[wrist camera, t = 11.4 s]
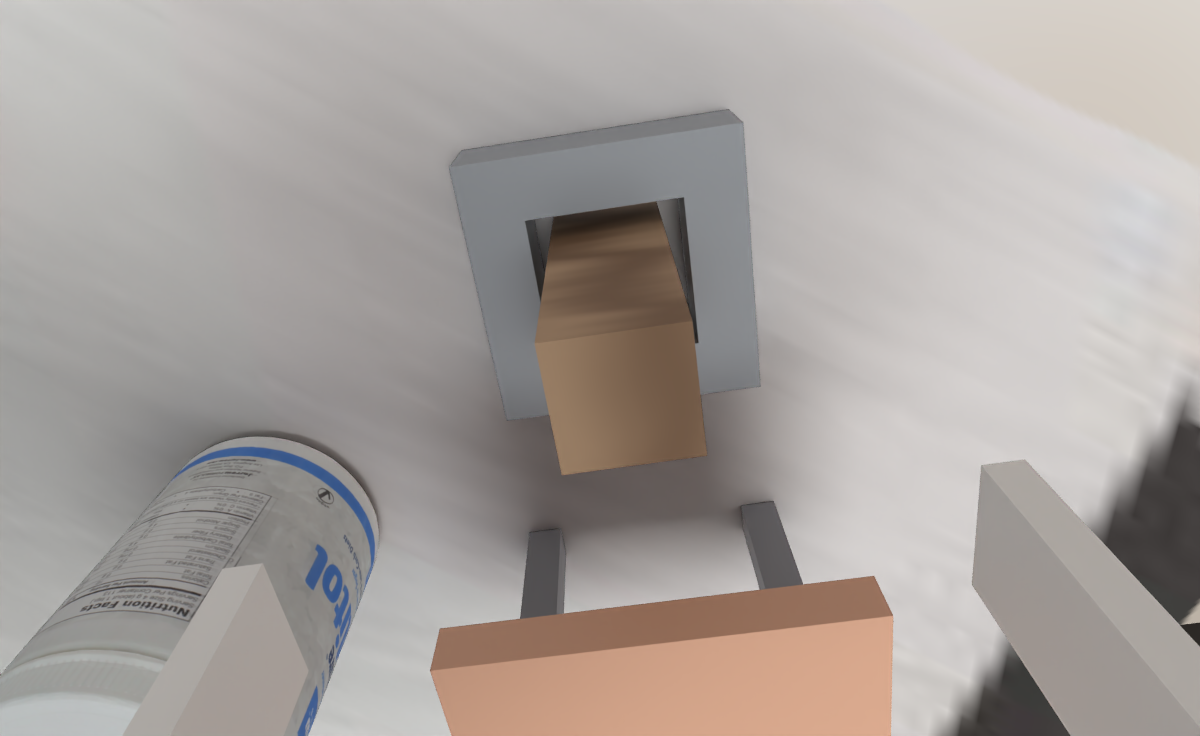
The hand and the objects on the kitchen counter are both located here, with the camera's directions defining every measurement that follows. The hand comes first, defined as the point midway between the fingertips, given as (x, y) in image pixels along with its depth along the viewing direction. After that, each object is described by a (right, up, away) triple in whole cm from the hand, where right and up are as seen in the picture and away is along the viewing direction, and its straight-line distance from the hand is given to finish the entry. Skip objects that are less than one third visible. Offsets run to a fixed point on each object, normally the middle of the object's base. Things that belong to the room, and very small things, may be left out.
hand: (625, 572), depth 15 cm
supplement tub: (-15, -3, +22) cm, 27 cm away
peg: (0, +8, +17) cm, 19 cm away
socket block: (0, +8, +17) cm, 19 cm away
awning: (+1, -1, +21) cm, 21 cm away
